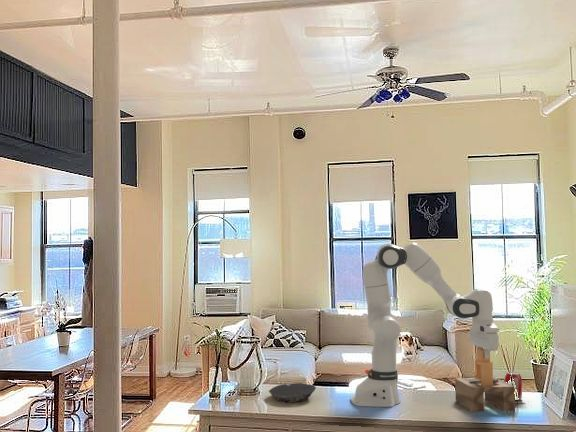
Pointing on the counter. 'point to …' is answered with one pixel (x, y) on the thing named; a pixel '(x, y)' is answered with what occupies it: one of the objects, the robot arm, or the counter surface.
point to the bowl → (292, 392)
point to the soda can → (517, 381)
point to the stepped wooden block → (483, 369)
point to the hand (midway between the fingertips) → (483, 357)
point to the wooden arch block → (484, 394)
